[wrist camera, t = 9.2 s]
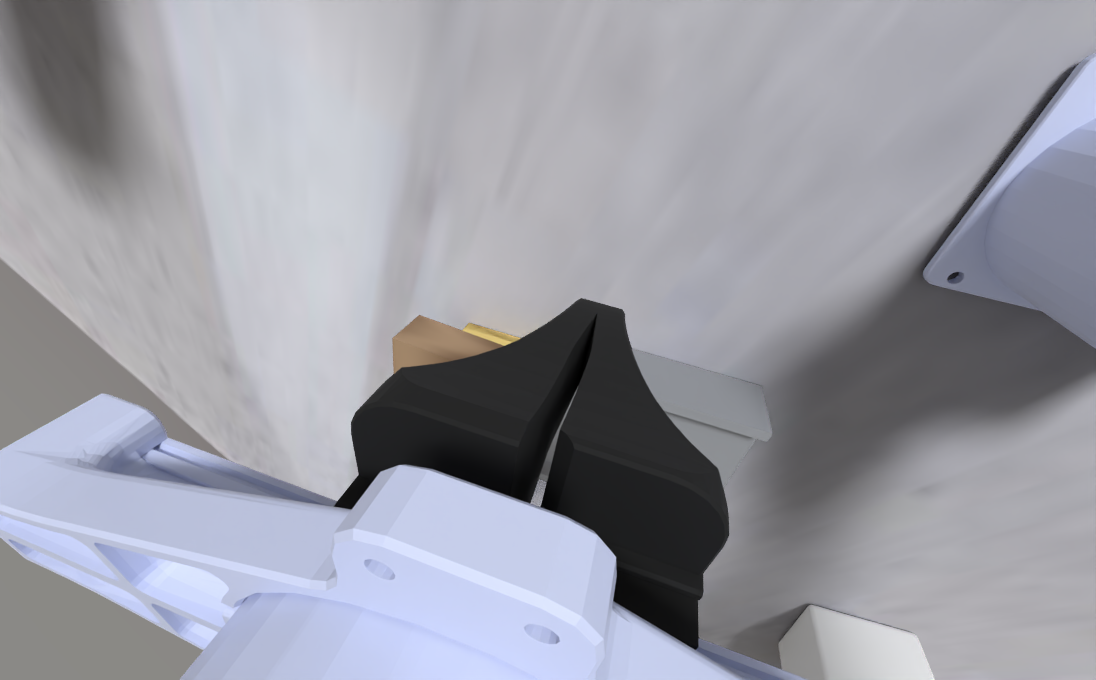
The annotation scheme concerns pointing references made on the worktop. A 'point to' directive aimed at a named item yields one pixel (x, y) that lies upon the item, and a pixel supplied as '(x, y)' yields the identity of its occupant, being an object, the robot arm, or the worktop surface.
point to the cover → (435, 344)
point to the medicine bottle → (850, 649)
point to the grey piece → (702, 411)
